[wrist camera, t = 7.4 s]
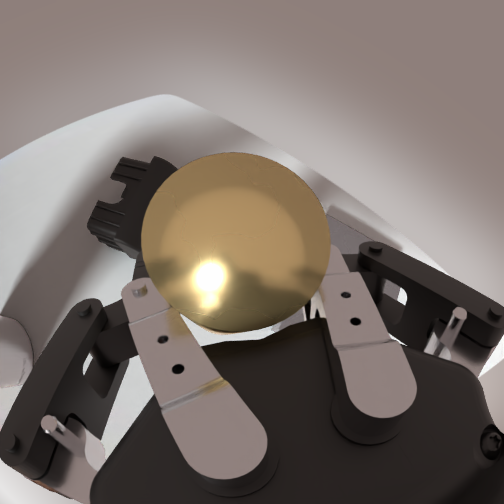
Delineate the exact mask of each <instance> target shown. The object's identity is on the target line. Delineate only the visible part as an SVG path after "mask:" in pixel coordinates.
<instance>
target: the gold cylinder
mask: <svg viewBox="0 0 504 504" xmlns="http://www.w3.org/2000/svg"><path fill="white" fill-rule="evenodd" d="M141 247H142V254H143V259H144V263H145V266H146V269H147V272H148V274H149V276H150V278H151V280H152V282H153V284H154V285H155V287H156V289H157V290H158V292H159V293H160V294H161V295H162V296H163V298H164V299H165V300H166V301H167V302H168V303H169V304H170V305H171V306H172V307H173V308H175V309H176V310H177V311H178V312H179V313H181V314H182V315H184V316H185V317H187V318H188V319H190V320H191V321H193V322H194V323H196V324H197V325H198V326H200V327H201V328H203V329H205V330H206V331H208V332H211V333H214V334H219V335H228V334H235V333H241V332H247V331H253V330H258V329H262V328H266V327H269V326H272V325H275V324H277V323H279V322H282V321H284V320H285V319H287V318H289V317H290V316H292V315H293V314H295V313H296V312H297V311H299V310H300V309H301V308H302V307H303V306H305V305H306V303H307V302H308V301H309V300H310V299H311V298H312V297H313V295H314V294H315V292H316V291H317V289H318V288H319V286H320V285H321V283H322V280H323V278H324V276H325V274H326V270H327V267H328V264H329V258H330V251H331V238H330V230H329V225H328V221H327V218H326V215H325V213H324V210H323V208H322V206H321V204H320V202H319V200H318V198H317V197H316V196H315V194H314V193H313V191H312V190H311V189H310V188H309V186H308V185H307V184H306V183H305V182H304V181H303V180H302V179H301V178H300V177H299V176H297V175H296V174H295V173H294V172H292V171H291V170H289V169H288V168H286V167H285V166H283V165H281V164H279V163H277V162H275V161H273V160H270V159H268V158H265V157H261V156H258V155H253V154H247V153H235V152H233V153H220V154H214V155H209V156H206V157H202V158H200V159H197V160H195V161H192V162H190V163H188V164H187V165H185V166H183V167H181V168H180V169H179V170H177V171H176V172H174V173H173V174H172V175H171V176H170V177H169V178H168V179H167V180H165V181H164V183H163V184H162V185H161V186H160V187H159V189H158V190H157V191H156V193H155V194H154V196H153V198H152V199H151V201H150V203H149V206H148V208H147V210H146V213H145V217H144V220H143V226H142V233H141Z"/></svg>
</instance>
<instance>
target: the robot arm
mask: <svg viewBox="0 0 504 504" xmlns="http://www.w3.org/2000/svg"><path fill="white" fill-rule="evenodd" d="M386 280H389V281H390V282H392V283H394V284H396V285H398V286H399V287H401V288H403V289H404V290H405V292H406V294H407V302H406V305H403V304H402V303H400V302H398V301H397V300H395V299H393V298H392V297H390V296H388V295H387V294H385V293H384V289H385V285H386ZM121 296H122V299H121V300H119V301H117V302H115V303H113V304H110V305H108V306H105V307H103V305H102V303H101V301H100V300H98V299H94V298H90V299H86V300H83V301H81V302H79V303H77V304H76V305H75V306H74V307H73V308H72V309H71V310H70V312H69V313H68V315H67V316H66V317H65V319H64V320H63V322H62V323H61V325H60V326H59V328H58V329H57V331H56V332H55V334H54V335H53V337H52V338H51V340H50V341H49V343H48V344H47V346H46V347H45V349H44V351H43V352H42V354H41V355H40V357H39V359H38V360H37V362H36V364H35V365H34V367H33V352H32V347H31V343H30V340H29V337H28V335H27V333H26V331H25V330H24V328H23V327H22V325H21V324H20V323H19V322H18V321H16V320H14V319H12V318H8V317H3V316H1V315H0V388H6V387H12V386H18V385H22V384H24V385H23V387H22V388H21V390H20V392H19V394H18V396H17V398H16V400H15V402H14V404H13V406H12V408H11V410H10V412H9V414H8V416H7V418H6V420H5V422H4V425H3V427H2V429H1V431H0V458H1V460H2V461H3V462H4V463H5V464H7V465H8V466H10V467H12V468H13V469H14V470H16V471H18V472H19V473H21V474H22V475H23V476H24V477H26V478H27V479H29V480H31V481H32V482H34V483H36V484H38V485H40V486H42V487H43V488H46V489H47V490H49V491H52V492H56V493H58V494H60V495H62V496H64V497H66V498H69V499H74V500H77V501H79V502H81V503H83V504H504V434H503V433H502V432H500V430H499V429H498V428H497V427H496V425H495V424H494V422H493V419H492V417H491V415H490V413H489V410H488V407H487V403H486V400H485V396H484V391H483V388H482V386H481V384H480V382H479V380H478V376H479V374H480V372H481V370H482V368H483V366H484V365H485V363H486V362H487V360H488V359H489V357H490V356H491V354H492V353H493V351H494V349H495V348H496V346H497V345H498V343H499V341H500V340H501V338H502V336H503V335H504V307H503V306H501V305H500V304H499V303H497V302H495V301H493V300H492V299H490V298H488V297H486V296H485V295H483V294H481V293H479V292H478V291H476V290H474V289H472V288H470V287H469V286H467V285H465V284H463V283H461V282H459V281H458V280H456V279H454V278H452V277H450V276H448V275H446V274H444V273H443V272H441V271H439V270H437V269H435V268H433V267H431V266H429V265H427V264H425V263H423V262H421V261H419V260H417V259H415V258H413V257H411V256H409V255H407V254H405V253H402V252H400V251H398V250H396V249H394V248H392V247H390V246H388V245H386V244H383V243H380V242H375V241H368V242H363V243H361V244H360V245H359V250H358V254H341V253H340V250H339V249H338V248H337V247H336V246H334V245H332V244H331V251H330V258H329V264H328V267H327V270H326V274H325V276H324V278H323V280H322V283H321V285H320V286H319V288H318V289H317V291H316V292H315V294H314V295H313V297H312V298H311V299H310V300H309V301H308V302H307V303H306V305H305V306H303V307H302V309H303V315H304V321H302V322H299V323H295V324H292V325H289V326H287V327H285V328H283V329H281V330H279V331H277V332H275V333H273V334H271V335H269V336H267V337H265V338H263V339H259V340H243V341H224V342H220V343H215V344H210V345H206V346H201V347H200V345H199V344H198V342H197V341H196V339H195V338H194V336H193V335H192V333H191V331H190V330H189V328H188V327H187V325H186V324H185V322H184V320H183V319H182V317H181V316H180V313H179V312H178V311H177V310H176V309H175V308H173V307H172V306H171V305H170V304H169V303H168V302H167V301H166V300H165V299H164V298H163V296H162V295H161V294H160V293H159V292H158V290H157V289H156V287H155V285H154V284H153V282H152V280H151V278H150V276H149V274H148V272H147V269H146V266H145V263H144V259H143V254H142V251H141V252H140V253H139V254H138V255H137V259H136V264H135V269H134V274H133V279H132V281H131V282H130V283H128V284H127V285H126V286H125V287H124V288H123V289H122V292H121ZM388 333H389V334H391V335H392V336H394V337H395V338H397V339H398V340H400V341H401V342H402V343H404V344H405V345H407V346H405V345H403V344H400V343H399V342H398V341H396V340H393V339H391V338H390V336H389V334H388ZM89 353H90V354H91V356H92V357H93V359H92V361H91V363H90V365H89V367H88V369H87V371H86V373H85V375H83V364H84V362H85V360H86V358H87V356H88V354H89ZM137 355H139V356H140V359H141V362H142V364H143V367H144V369H145V372H146V374H147V377H148V379H149V382H150V384H151V387H152V389H153V391H154V395H153V396H152V398H151V399H150V400H149V402H148V403H147V405H146V406H145V407H144V409H143V410H142V411H141V413H140V414H139V416H138V417H137V418H136V420H135V421H134V423H133V424H132V425H131V427H130V428H129V429H128V431H127V432H126V434H125V435H124V436H123V438H122V439H121V441H120V442H119V443H118V445H117V446H116V447H115V449H114V450H113V452H112V453H111V454H110V456H109V457H108V459H107V460H106V459H105V448H104V446H103V444H102V442H101V439H102V435H103V432H104V429H105V426H106V424H107V421H108V418H109V415H110V412H111V409H112V406H113V404H114V401H115V398H116V396H117V393H118V390H119V388H120V385H121V382H122V380H123V377H124V375H125V372H126V370H127V367H128V364H129V359H130V358H132V357H135V356H137ZM32 368H33V369H32Z"/></svg>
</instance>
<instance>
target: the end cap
mask: <svg viewBox="0 0 504 504" xmlns="http://www.w3.org/2000/svg"><path fill="white" fill-rule="evenodd" d="M177 170H178V169H177V168H176V167H175V166H174V165H172V164H171V163H169V162H168V161H166V160H164V159H162V158H159V157H156V156H154V157H153V159H152V161H151V163H146V162H142V161H138V160H133V159H129V158H125V157H122V158H121V159H120V161H119V163H118V164H117V166H116V168H115V170H114V171H113V173H112V175H111V177H110V178H111V179H112V180H116V181H120V182H123V183H125V184H126V185H127V186H126V188H125V189H124V191H123V193H122V195H121V197H122V198H124V199H123V200H122V201H120V202H119V203H116V204H109V203H105V202H102V201H99V200H98V202H97V204H96V206H95V208H94V210H93V212H92V214H91V216H90V218H89V221H88V223H87V228H88V229H89V230H90V232H91V234H93V235H96V236H97V238H98V240H99V241H100V242H103V243H105V244H106V245H107V246H109V247H111V248H114V249H116V250H119V251H122V252H125V253H126V254H127V255H128V256H129V257H130V258H133V259H137V255H138V254H139V253H140V252H141V251H142V247H141V233H142V226H143V220H144V217H145V213H146V210H147V208H148V206H149V203H150V201H151V199H152V198H153V196H154V194H155V193H156V191H157V190H158V189H159V187H160V186H161V185H162V184H163V183H164V181H165V180H167V179H168V178H169V177H170V176H171V175H172V174H173V173H174V172H176V171H177Z"/></svg>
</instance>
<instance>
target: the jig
mask: <svg viewBox="0 0 504 504" xmlns="http://www.w3.org/2000/svg"><path fill="white" fill-rule="evenodd" d="M326 218H327V221H328V225H329V230H330V238H331V244H332V245H334V246H336V247H337V248H338V249H339V250H340V253H341V254H358V250H359V245H360V244H361V243H363V242H368V241H373V240H371V239H370V238H368V237H366V236H365V235H363V234H361V233H359V232H358V231H356V230H354V229H352V228H351V227H349V226H347V225H345V224H344V223H342V222H340V221H338V220H336V219H335V218H333V217H331V216H329V215H326ZM399 291H400V287H399V286H398V285H396V284H394V283H392V282H390V281H389V280H386V285H385V289H384V293H385V294H387V295H388V296H390V297H392V298H393V299H395V300H397V298H398V295H399ZM302 321H304V315H303V309H302V308H301V309H300V310H299V311H297V312H296V313H295V314H293V315H292V316H290V317H289V318H287V319H285V320H284V321H282V322H279V323H277V324H275V325H273V327H272V329H271V330H272V331H274V332H277V331H279V330H281V329H283V328H285V327H287V326H289V325H292V324H295V323H299V322H302Z"/></svg>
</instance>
